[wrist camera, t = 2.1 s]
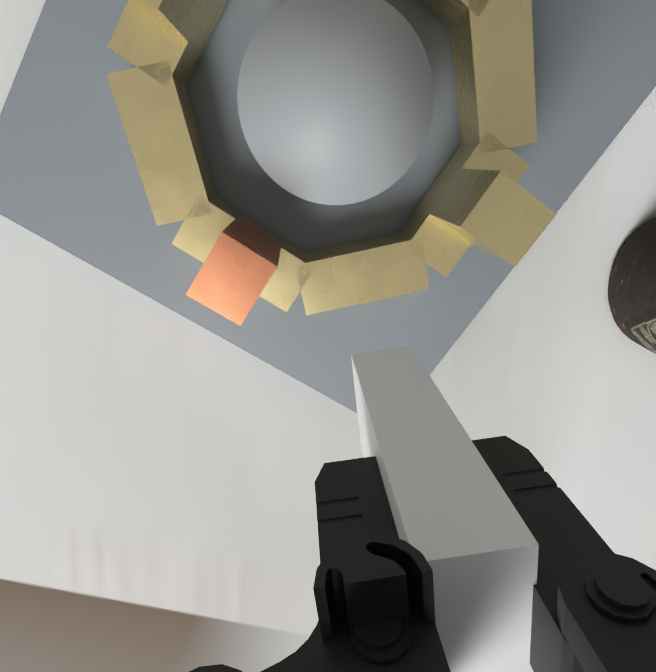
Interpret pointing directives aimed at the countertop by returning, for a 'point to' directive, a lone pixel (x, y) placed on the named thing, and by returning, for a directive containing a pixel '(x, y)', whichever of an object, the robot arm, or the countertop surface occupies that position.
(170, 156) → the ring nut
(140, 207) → the slate plate
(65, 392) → the countertop surface
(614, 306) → the container
